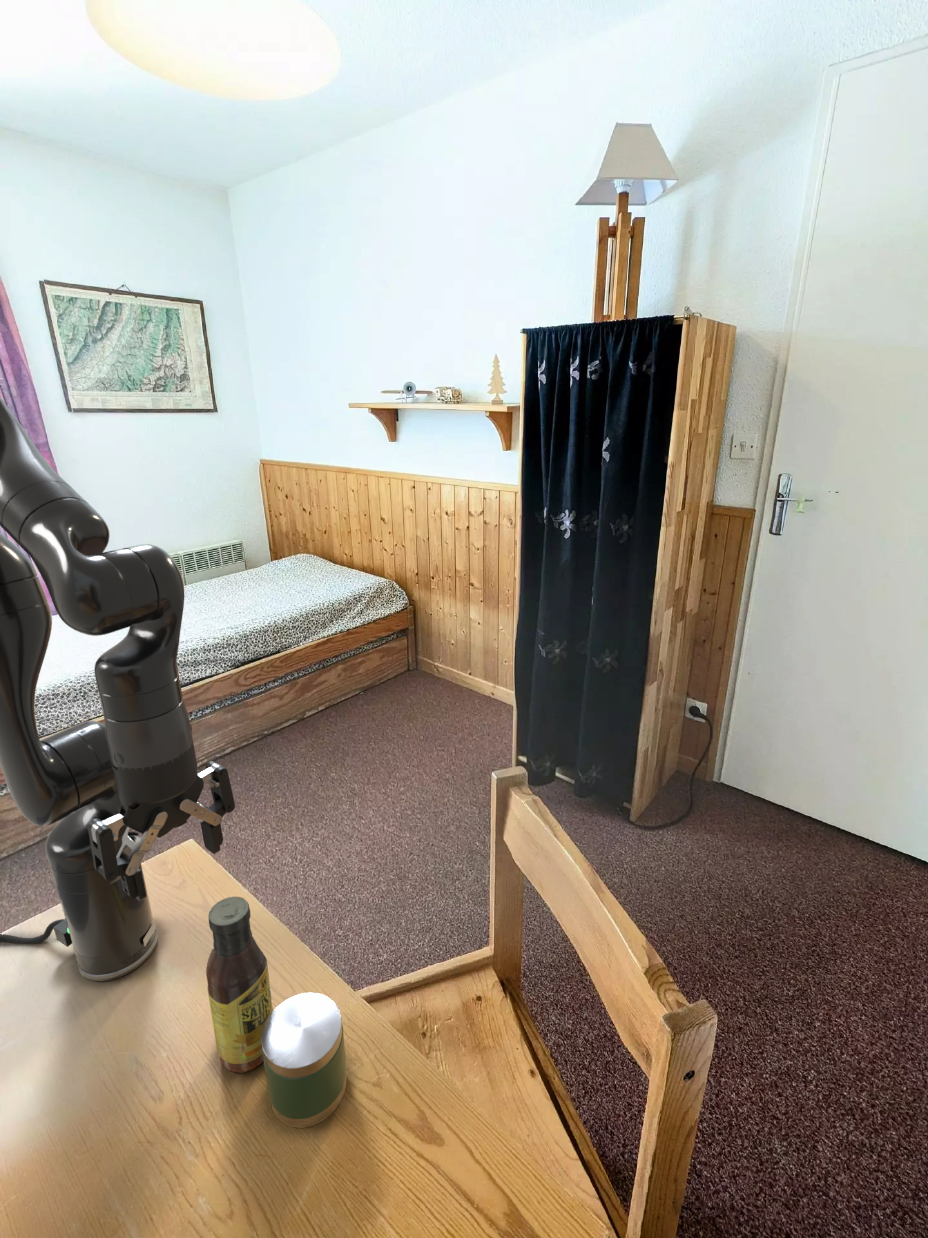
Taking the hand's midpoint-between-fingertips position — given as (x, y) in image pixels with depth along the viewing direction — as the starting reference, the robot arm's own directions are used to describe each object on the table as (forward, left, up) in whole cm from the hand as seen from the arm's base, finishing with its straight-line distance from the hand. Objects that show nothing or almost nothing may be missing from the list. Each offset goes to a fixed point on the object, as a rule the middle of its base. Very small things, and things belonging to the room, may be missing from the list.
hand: (177, 871), depth 67 cm
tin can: (+17, -1, -21) cm, 27 cm away
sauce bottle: (+8, -1, -21) cm, 23 cm away
